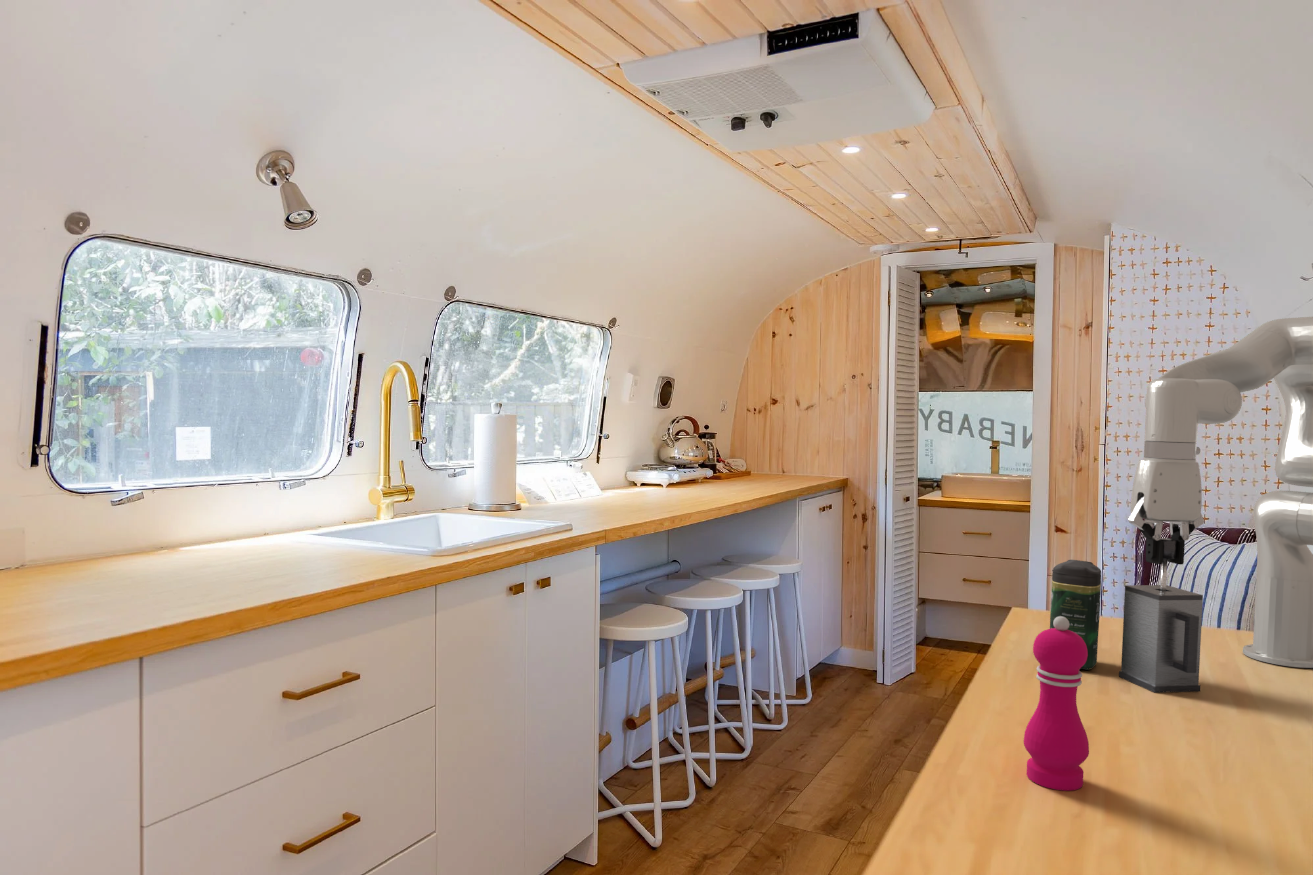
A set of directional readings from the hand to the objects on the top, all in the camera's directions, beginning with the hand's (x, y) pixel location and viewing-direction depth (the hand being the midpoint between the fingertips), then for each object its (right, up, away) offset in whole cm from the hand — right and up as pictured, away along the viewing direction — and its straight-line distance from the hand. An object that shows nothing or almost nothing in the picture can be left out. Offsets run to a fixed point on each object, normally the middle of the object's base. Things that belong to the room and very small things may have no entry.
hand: (1164, 561), depth 146 cm
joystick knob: (0, -10, 0) cm, 10 cm away
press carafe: (0, -21, -1) cm, 21 cm away
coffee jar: (-10, -20, +11) cm, 25 cm away
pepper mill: (-36, -21, -40) cm, 58 cm away
